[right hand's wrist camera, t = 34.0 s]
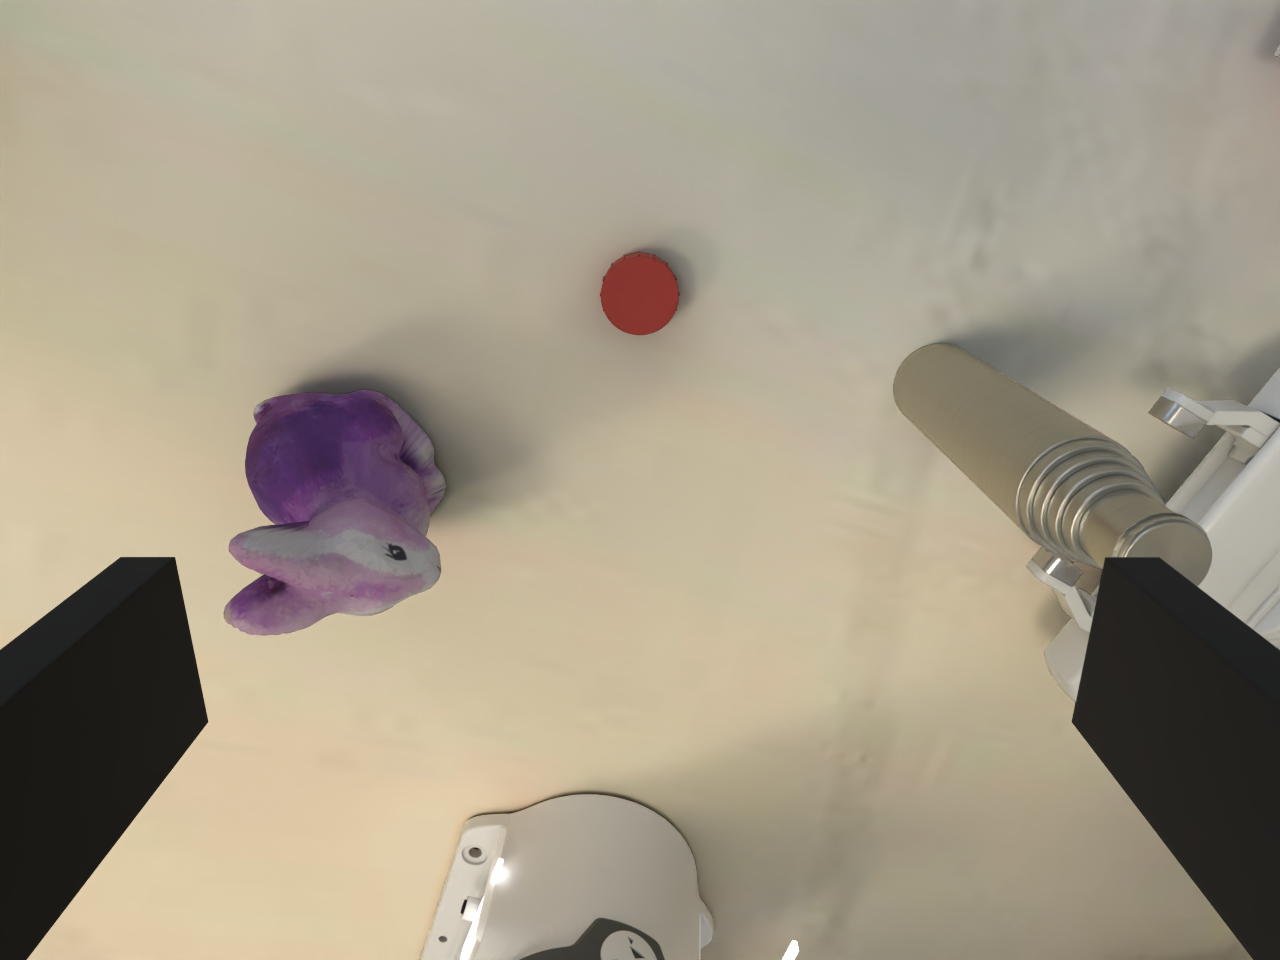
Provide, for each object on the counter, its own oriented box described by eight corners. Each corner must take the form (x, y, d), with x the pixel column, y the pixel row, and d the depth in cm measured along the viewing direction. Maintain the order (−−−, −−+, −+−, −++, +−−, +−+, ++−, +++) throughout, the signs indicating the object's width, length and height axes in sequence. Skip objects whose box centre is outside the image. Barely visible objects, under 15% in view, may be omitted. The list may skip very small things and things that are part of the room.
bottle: (990, 355, 47) (1271, 514, 26) (958, 433, 49) (1200, 643, 28) (910, 333, 47) (1131, 478, 26) (881, 413, 48) (1066, 611, 27)
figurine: (482, 521, 50) (421, 663, 36) (310, 547, 51) (183, 697, 37) (443, 361, 47) (359, 449, 33) (259, 390, 48) (100, 489, 33)
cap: (608, 245, 45) (607, 248, 43) (684, 260, 45) (686, 264, 44) (596, 321, 46) (594, 327, 45) (669, 335, 47) (670, 342, 45)
